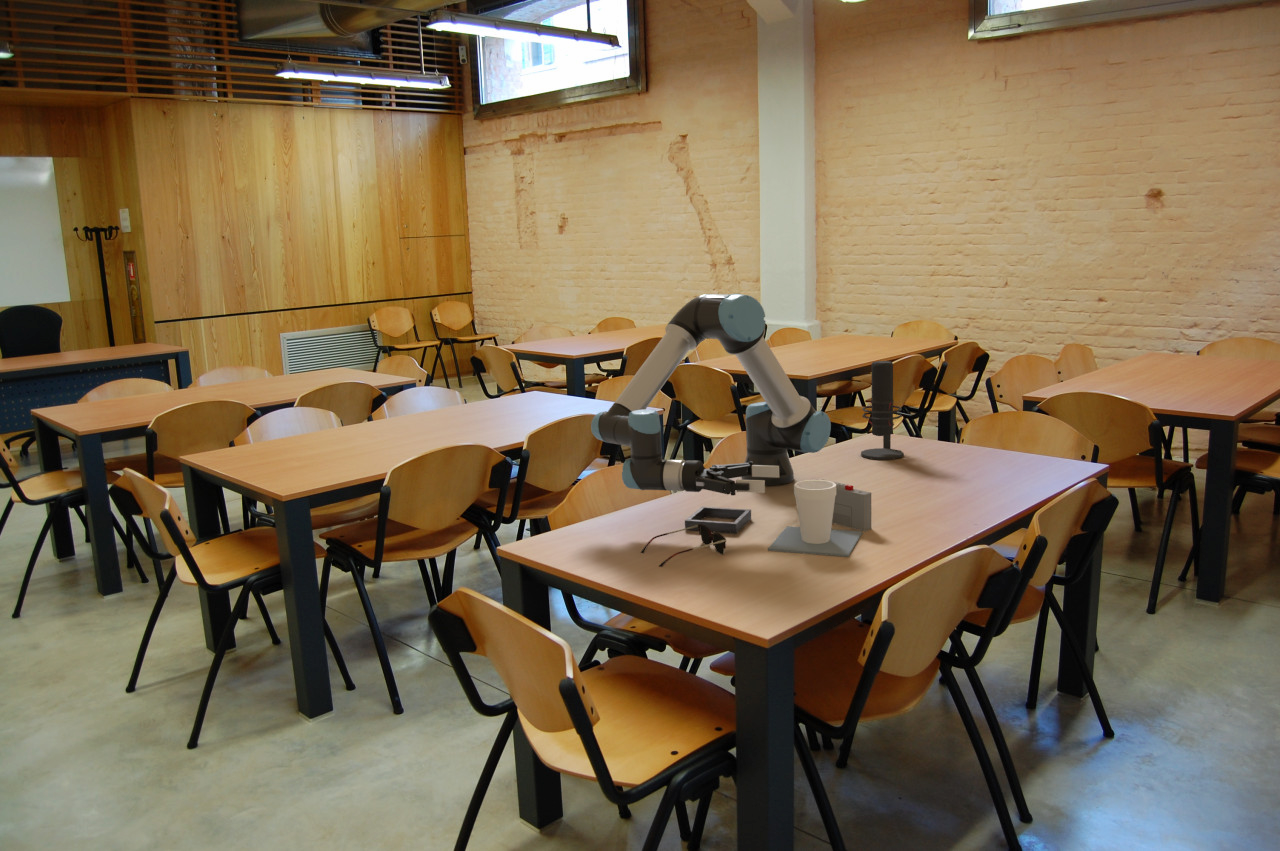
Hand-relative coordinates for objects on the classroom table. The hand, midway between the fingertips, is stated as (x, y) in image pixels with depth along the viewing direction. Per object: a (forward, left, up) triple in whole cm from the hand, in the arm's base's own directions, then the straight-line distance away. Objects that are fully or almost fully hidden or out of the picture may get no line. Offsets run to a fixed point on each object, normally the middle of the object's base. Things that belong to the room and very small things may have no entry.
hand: (772, 478), depth 223 cm
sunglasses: (+16, -17, -15) cm, 28 cm away
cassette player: (-16, +13, -15) cm, 25 cm away
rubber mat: (0, +10, -14) cm, 18 cm away
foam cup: (0, +10, -14) cm, 17 cm away
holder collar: (-8, -16, -14) cm, 23 cm away
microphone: (-94, +11, -15) cm, 95 cm away
